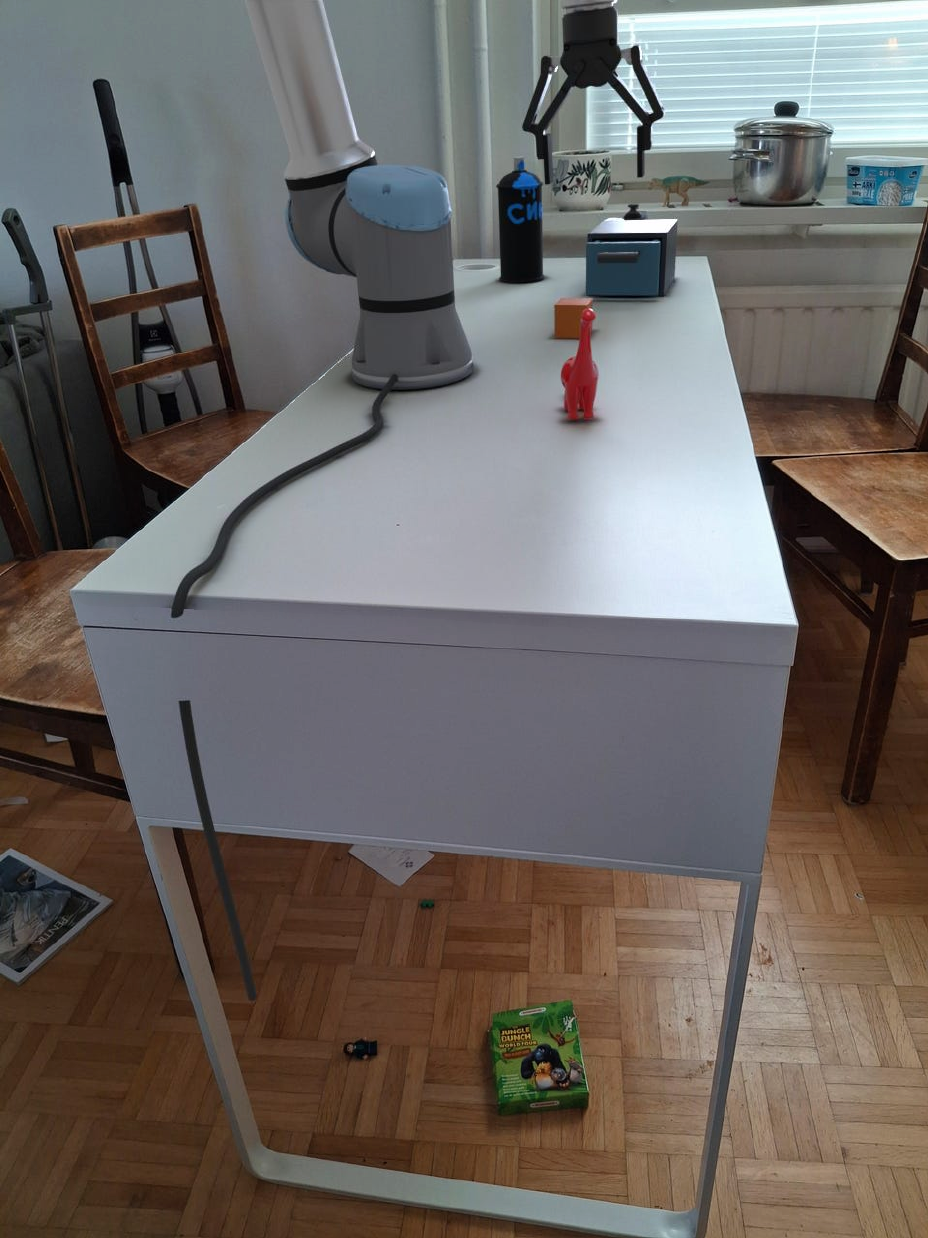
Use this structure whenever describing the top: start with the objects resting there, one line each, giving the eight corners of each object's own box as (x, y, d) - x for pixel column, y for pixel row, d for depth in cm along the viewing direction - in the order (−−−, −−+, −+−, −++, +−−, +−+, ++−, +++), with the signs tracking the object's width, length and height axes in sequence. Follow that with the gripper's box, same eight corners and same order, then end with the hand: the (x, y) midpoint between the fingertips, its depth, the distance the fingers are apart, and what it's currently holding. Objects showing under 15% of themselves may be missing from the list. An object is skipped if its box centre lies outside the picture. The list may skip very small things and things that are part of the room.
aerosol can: (491, 278, 172) (487, 158, 162) (531, 273, 174) (528, 154, 165) (512, 285, 165) (508, 159, 155) (552, 279, 168) (552, 155, 158)
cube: (586, 338, 129) (586, 304, 126) (554, 338, 130) (554, 304, 128) (592, 330, 132) (592, 298, 130) (561, 330, 134) (561, 297, 131)
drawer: (653, 302, 142) (655, 247, 139) (579, 301, 146) (579, 248, 142) (667, 279, 158) (670, 229, 154) (600, 279, 161) (601, 230, 157)
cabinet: (664, 295, 150) (667, 231, 145) (586, 295, 154) (587, 233, 149) (674, 278, 162) (677, 219, 157) (602, 278, 166) (603, 220, 161)
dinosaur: (587, 394, 106) (589, 280, 100) (608, 438, 93) (610, 310, 87) (553, 396, 106) (552, 283, 100) (568, 440, 93) (568, 312, 87)
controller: (618, 262, 179) (620, 206, 174) (626, 252, 189) (628, 198, 184) (641, 262, 178) (643, 205, 173) (647, 251, 188) (650, 197, 183)
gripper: (685, -4, 126) (682, 169, 137) (507, 19, 133) (518, 181, 144) (681, -4, 120) (678, 176, 131) (494, 20, 127) (506, 189, 138)
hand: (594, 179), depth 138 cm, fingers open, 13 cm apart
